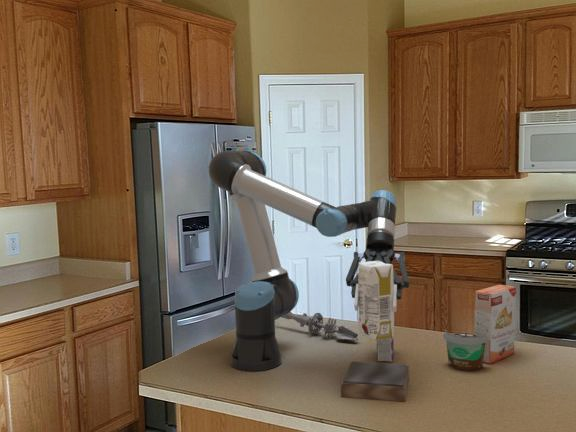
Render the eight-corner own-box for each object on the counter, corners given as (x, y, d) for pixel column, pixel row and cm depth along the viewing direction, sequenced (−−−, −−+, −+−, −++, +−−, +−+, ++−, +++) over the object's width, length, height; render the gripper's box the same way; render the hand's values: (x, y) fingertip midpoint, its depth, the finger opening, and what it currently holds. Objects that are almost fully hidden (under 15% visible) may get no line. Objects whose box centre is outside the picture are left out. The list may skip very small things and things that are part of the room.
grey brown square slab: (341, 396, 154) (340, 381, 154) (350, 374, 170) (350, 360, 169) (405, 401, 150) (405, 385, 150) (408, 378, 166) (408, 364, 165)
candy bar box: (378, 350, 191) (377, 298, 189) (394, 350, 190) (393, 299, 188) (375, 361, 180) (375, 307, 179) (393, 362, 179) (392, 307, 178)
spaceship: (286, 302, 223) (273, 298, 217) (367, 327, 201) (355, 323, 195) (279, 323, 222) (266, 320, 216) (360, 350, 200) (348, 347, 194)
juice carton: (372, 341, 153) (371, 267, 151) (355, 333, 160) (354, 262, 159) (398, 337, 156) (397, 264, 154) (380, 329, 163) (379, 259, 162)
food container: (441, 370, 172) (441, 335, 171) (443, 363, 178) (443, 329, 177) (487, 374, 168) (487, 339, 167) (487, 367, 173) (488, 333, 172)
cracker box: (491, 365, 175) (492, 293, 173) (472, 360, 180) (473, 290, 178) (516, 354, 184) (516, 286, 182) (497, 349, 189) (498, 283, 187)
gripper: (421, 246, 169) (419, 317, 155) (343, 246, 174) (335, 314, 160) (420, 230, 163) (418, 302, 149) (340, 229, 169) (330, 299, 155)
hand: (375, 308), depth 155 cm, fingers closed on juice carton, 9 cm apart
